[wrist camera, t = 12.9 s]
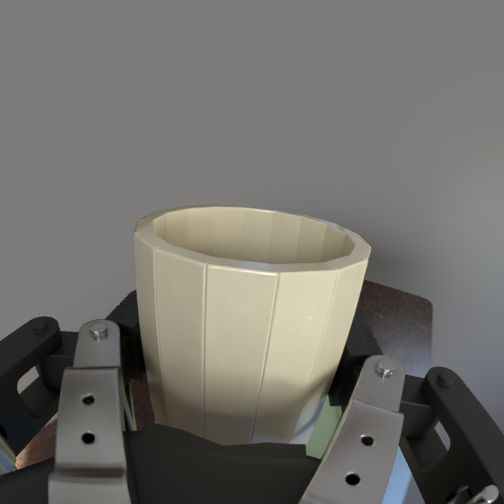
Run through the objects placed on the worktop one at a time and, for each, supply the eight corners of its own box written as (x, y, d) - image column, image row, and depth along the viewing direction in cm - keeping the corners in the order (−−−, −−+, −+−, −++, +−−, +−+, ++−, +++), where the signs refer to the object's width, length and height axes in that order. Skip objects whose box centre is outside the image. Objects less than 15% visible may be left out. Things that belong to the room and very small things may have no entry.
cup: (147, 485, 8) (84, 247, 5) (181, 392, 14) (179, 199, 11) (299, 506, 8) (410, 286, 5) (296, 406, 14) (340, 217, 10)
